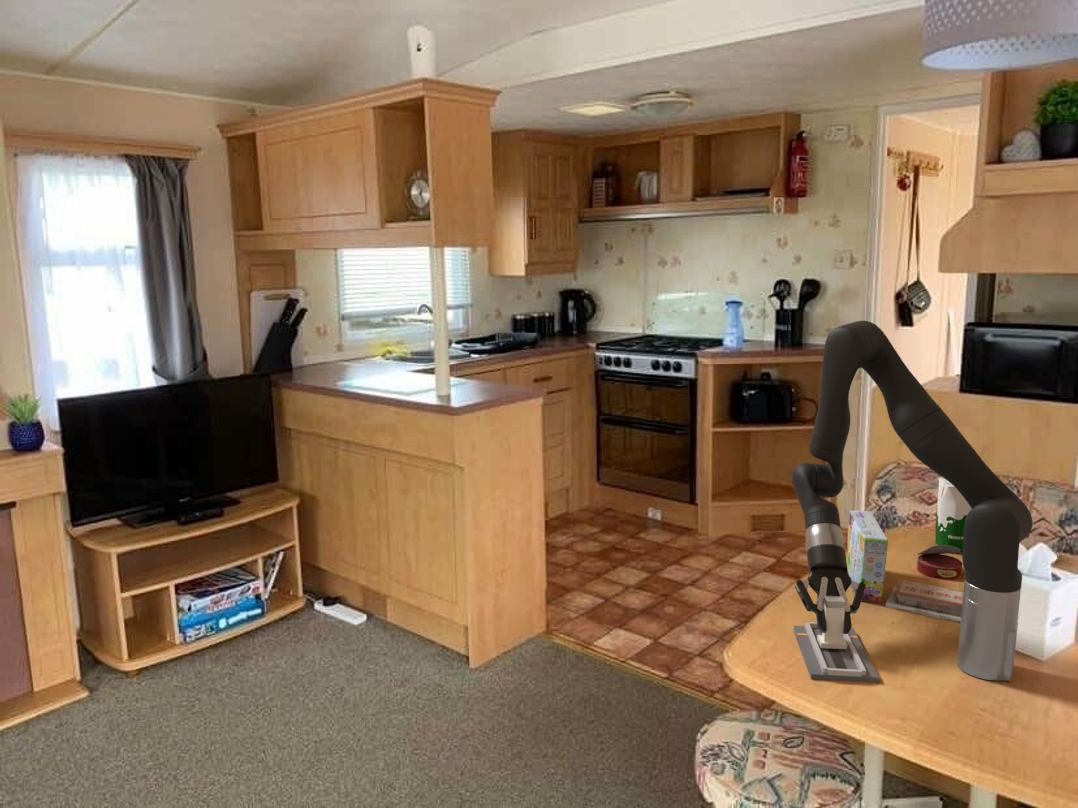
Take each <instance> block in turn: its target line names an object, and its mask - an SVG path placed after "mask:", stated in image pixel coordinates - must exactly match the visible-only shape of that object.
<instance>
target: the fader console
mask: <svg viewBox="0 0 1078 808" xmlns="http://www.w3.org/2000/svg"><path fill="white" fill-rule="evenodd" d="M804 623H805V624H804V625H793V630H794V631H793V630H792V631H793V633H794V636H795V638H796V641H798V642H797V644H798V647H799V650H800V652H801V655H802V658H803V661H804V663H805V666H806V669H807V672H808V675H809V677H810V680H823V681H838V682H839V681H843V682H861V683H875V684H876V683H877V684H879V683H880V682H879V681H880V677H879V675H878V673H877V671H876V669H875V667H874V665H873V663H872V662H871V660H870V657H869V656H868V654H867V652H866V650H865V648H864V646H863V643H862V642H861V639H860V637H858V635H857V633H856V630H855V628H853V627H851V630H850V631H849V632H848V634H843V636H844V638H845V640H846V643H847V649H830V648H820V645H819V643H818V640H817V635H822V633H821V630H819V629H818V627H817V621H816V622H815V621H808V622H804Z"/></svg>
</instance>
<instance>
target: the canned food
mask: <svg viewBox="0 0 1078 808" xmlns="http://www.w3.org/2000/svg"><path fill="white" fill-rule="evenodd" d="M960 551H961V550H960V549H959V548H957V547H954V546H950V545H941V546H938V545H933V546H931V547H928V548H927V549H925V550H922V551H921V552H918V553H917V555H919V556H917V565H916V571H917V572H918V573H920V574H921V575H923V576H925V577H929V578H932V579H937V580H943V581H944V580H945V581H946V580H948V581H950V580H951V581H952V580H958V579H960V578H961V577H962V571H963V561H961V560H960V559H958V558H957V557H954V556H950V555H947V554H954V553H956V554H958V553H957V552H960ZM959 577H960V578H959ZM957 578H958V579H957Z"/></svg>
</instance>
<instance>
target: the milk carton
mask: <svg viewBox="0 0 1078 808" xmlns="http://www.w3.org/2000/svg"><path fill="white" fill-rule="evenodd" d="M937 493H938V494H937V502H936V503H937V505H936V506H937V507H936V517H935V518H936V519H935V534H934V535H935V537H934V538H935V539H934V540H935V544H936V546H941V545H950V546H954V547H957V548H959V549H960V550H961V551H960V552H957V553H956V554H963V536H964V526H965V520H966V517H967V515H968V513H969V511H970V510H971V509H972V508H971V507H970V505H969V504H968V503H967V501H966V500H965V499H964V497H963V496H962V495H961V493H960V492H959V491H958V490H957V489H956V488H955V487H954V486H953V485H952V484H951V483H950V482H949V481H947V480H946V479H945V478H943V477H938V491H937Z"/></svg>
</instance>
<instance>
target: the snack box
mask: <svg viewBox="0 0 1078 808" xmlns="http://www.w3.org/2000/svg"><path fill="white" fill-rule="evenodd" d="M848 515H849V516H848V517H849V518H848V528H847V529H848V531H847V542H846V543H847V544H846V561H847V569H848V574H849V576H850V577H851V579H852V581H854V582H857V583H861V582H863V583H865V585H866V586H865V590H864V593H863V597H862V600H861V602H870V603H871V602H872V603H883V595H884V585H885V584H884V583H885V577H886V575H885V574H886V566H887V565H886V564H887V554H888V543H889V540H888V538H887V536H886V535H885V533H884V532H883V529H882V528H881V526H880V525H879V523H878V521H877V520H876V517H875V516H874V514H873V513H872V511H870V510H869V511H867V510H851V509H850V510H849V514H848Z"/></svg>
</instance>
